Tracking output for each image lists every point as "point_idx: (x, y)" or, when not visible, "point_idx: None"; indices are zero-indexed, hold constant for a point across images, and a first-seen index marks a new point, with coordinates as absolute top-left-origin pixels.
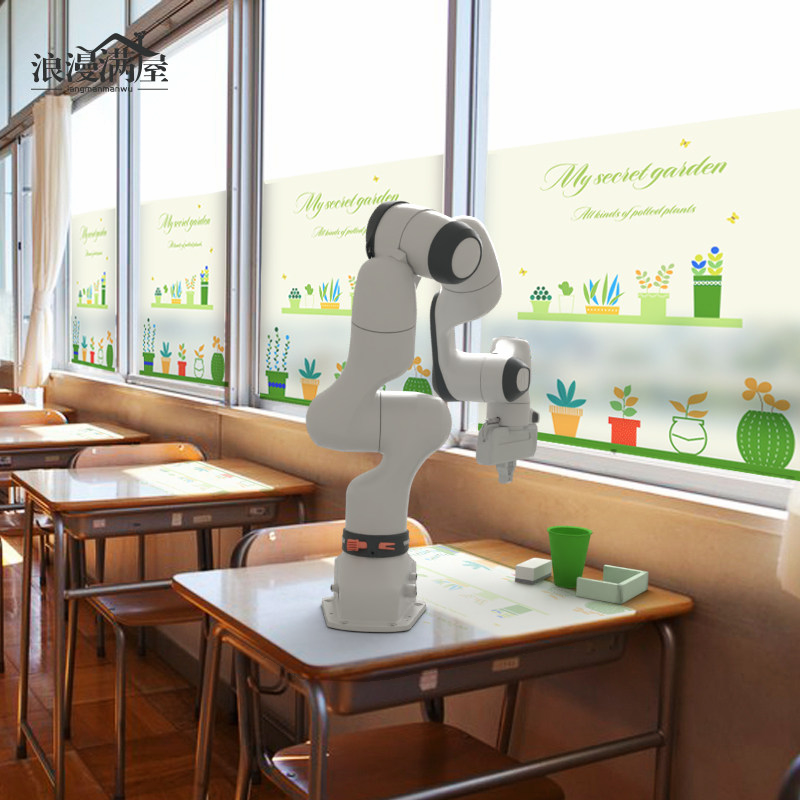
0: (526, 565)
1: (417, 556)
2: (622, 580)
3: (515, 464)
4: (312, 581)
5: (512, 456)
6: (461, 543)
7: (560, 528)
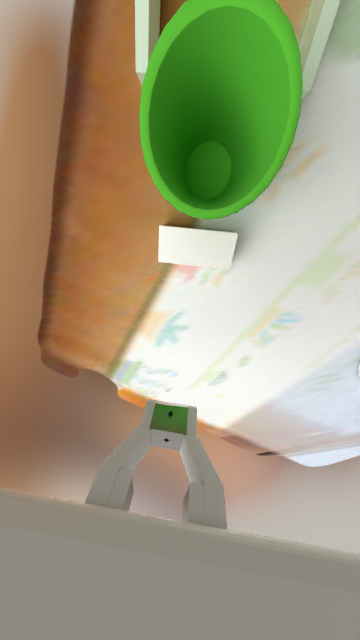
0: (221, 253)
1: (170, 383)
2: (156, 13)
3: (107, 472)
4: (304, 417)
5: (178, 577)
6: (91, 368)
7: (170, 189)
